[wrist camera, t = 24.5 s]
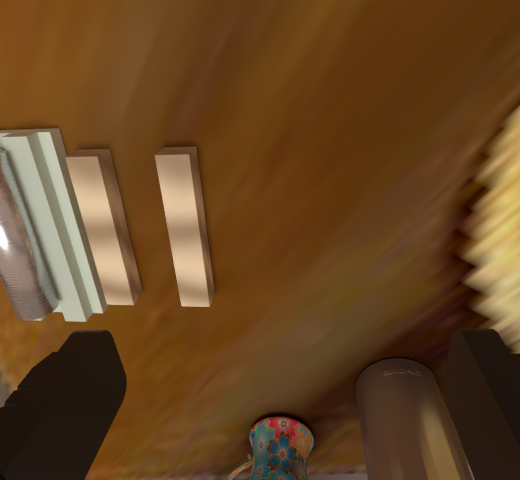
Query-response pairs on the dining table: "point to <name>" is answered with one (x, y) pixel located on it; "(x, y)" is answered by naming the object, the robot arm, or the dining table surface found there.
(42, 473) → the robot arm
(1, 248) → the axle
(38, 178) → the grooved block
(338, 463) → the dining table surface
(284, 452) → the mug
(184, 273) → the wooden blocks
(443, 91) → the dining table surface
